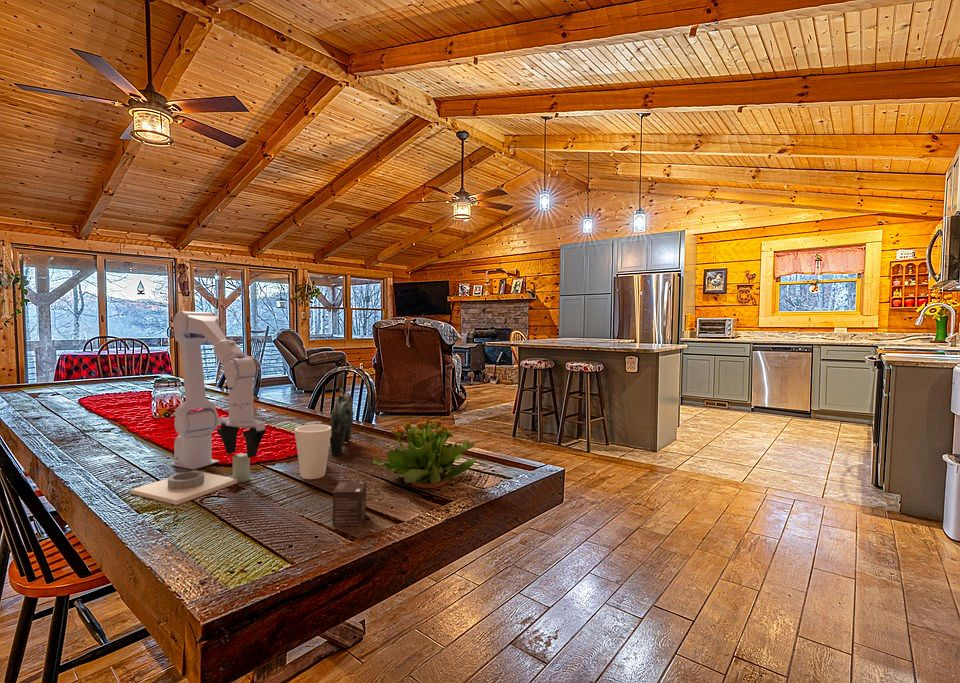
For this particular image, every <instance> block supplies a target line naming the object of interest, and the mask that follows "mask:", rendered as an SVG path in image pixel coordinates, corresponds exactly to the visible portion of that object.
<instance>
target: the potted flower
mask: <svg viewBox="0 0 960 683" xmlns="http://www.w3.org/2000/svg"><path fill="white" fill-rule="evenodd" d="M434 429H435V431H433V430H434ZM392 434H393V435H394V436H396V437H397V440H396V441H397V442H398V443H399V445H396V447H397V448H395V449H394V450H393V449H390V450H388V451H387V452H385V455H386V457H387V459H385V461H382V462H380V460H379V459H378V457H374V458H373V459H372V463H373V465H378V466H381V467H385V469H387V470H390V472H392V473H394V474H398V475H403V478H404V483H406V484H408V483H412V484H413V485H412V484H411V485H412V486H414V485H415V487H417V488H420V487H422V489H437V488H441V487H443V485H444V486H445V485H446V484H447V482H448V480H450V479H453V478H456V477H458V476H460V475H462V474H463V473H465V472H466V471H468V470H469V469H470V468H471V467H472V466H474V464H475V463H476V461H477V460H476V459H475V458H471V459H468V460H465V461H463V462H462V463H459V464H458V465H457V466H453V465H454V463H455V462H456V461H457V460H459V459H460V458H462V457H463V456H464V454H462V453H464V452H465V451H468V450H470V449H473V448H474V447H475V443H472V442H471V443H470V441H468V440H464V441H462V444H460V443H457V442H455V443H454V444H453V443H449V444H446V443H447V441H448V439H449V438H450V437H451V438H452V437H453V438H454V435H453V433H452V430H449V426H448V425H447V424H444V422H443V421H442V420H440V419H437V420H431V419H427V418H425V419H424V420H419V421H418V423H416V425H415V426H413V425H412V424H411V422H409V421H407V422H404V424H403V427H402V426H401V427H400V426H394V427H393V430H392ZM405 436H406V441H407V448H408V449H407V448H406V447H405V446H404V444H403V443H402V440H401V438H405ZM445 445H446V446H445ZM446 473H447V474H446ZM440 486H441V487H440ZM436 487H437V488H436Z"/></svg>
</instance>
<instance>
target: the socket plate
mask: <svg viewBox="0 0 960 683" xmlns="http://www.w3.org/2000/svg"><path fill="white" fill-rule="evenodd" d="M235 484H238V483H237V479H235V478H233V477H229V476H225V475H220V474H214V473H209V472H205V471H199V470H196V469H193V470H190V471H188V470H187V471H183V472H178V473H175V474H171V475H170V476H168V477H167V478H165V479H162V480H158V481H154V482H151V483H148V484H145V485H141V486H139V487H136V488H131V489H130V494H131V495H136V496H139V497H144V498H148V499H152V500H156V501H159V502H163V503H168V504H172V505H175V506H177V505H180V504H183V503H185V502H188V501H191V500H194V499H196V498H200V497H202V496H203V497H204V496H205V495H208V494H211V493H213V492H216V491H219V490H222V489H224V488H228V487H230V486H233V485H235Z"/></svg>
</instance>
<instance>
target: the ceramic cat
mask: <svg viewBox="0 0 960 683" xmlns="http://www.w3.org/2000/svg"><path fill="white" fill-rule="evenodd" d="M339 391H340V392H341V394H337V395H336V400H335V404H334V406H333V408H332V411H331V415H330V422H329V426H331V437H330V444H329V445H330V453H331V456H340V455H342V454H343V447H344V444H345V443H344V442H349V443H350V441H351V434H352V433H351V430H352V426H353V423H354V409H353V407H354V406H353V405H354V404H353V396H352V394H350V393H345V388H344V387H340V388H339ZM349 440H350V441H349Z"/></svg>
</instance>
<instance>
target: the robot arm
mask: <svg viewBox="0 0 960 683" xmlns="http://www.w3.org/2000/svg"><path fill="white" fill-rule="evenodd" d="M172 326H173V336H174V341H176V342H177V343H179V347H180V356H181V357H180V358H181V366H182V367H181V368H182V377H183V379H182V380H183V386H184V397H185V401H183V402H182V403H181V404H180V405H179V406H177V408H175V417H174V429H175V432H176V433H177V434H178V435H177V436H176V437H175V439H174V444H173V445H174V446H173V448H174V452H173V457H174V459H173V460H174V462H172V463H171V466H174V467H179V468H183V469H190V470H196V469H200V468H204V467H206V466H209V465H214V464H216V463H219V461H220V460H218V459H214V458H212V453H213V452H212V448H213V447H212V433H214V432H215V430H216V433H217V434H218V435H219V437H220V439H221V441H222V442H223V447H224V450H225V453H226V455H230V454H235V453H236V449H237V438H238V437H237V436H238V433H239V430H240V429H241V428H242V429H246V430H245V431H242V435H243V438H244V440H245V444H246V454H247V456H248V458H250V459H251V458H254V457H256V456H257V455H258V454H257V453H258V450H259V447H260V444H261V442H262V439H263V437H264V436H265V434H266V432H267V430H266V422H265V421H261V420H258V419H255V418H254V379H255V378H256V377H257V376H258V374H259V364H258V361H257V359H256V357H254V356H249V355H246V354H245V353H244V351H242V349H241V348H240V347H239V346H238V344H237V343H236V342H235V340H233V339H227V337H226V335H225V333H223V331H222V329H221V327H220V318H219V317H218V315H217V313H216V312H215V311H209V312H208V311H184V310H178V311H177V312H176V313H175V316H174V317H173V320H172ZM206 341H208V342H209V343H210V344H211V345H212V346H214V348H213V354H214V355H215V357H216V358H217V359H218V360H219V362H220V363H221V365H222V366H223V375H224V378H225V380H226V382H225V383H226V384H225V385H226V386H227V387H228V417H225V416H223V417H222V416H221V417H220V416H219V414H218V412H217V409H216V404H215V403H214V402H212V401H210V400H209V399H207V397H206V395H207V394H206V386H205V385H206V384H205V378H204V377H205V376H204V367H203V357H202V356H203V354H202V348H201V347H202V344H203V342H204V343H205V342H206ZM191 410H192V411H191ZM195 410H196V411H195ZM218 426H220V427H218ZM247 429H248V430H247Z"/></svg>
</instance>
